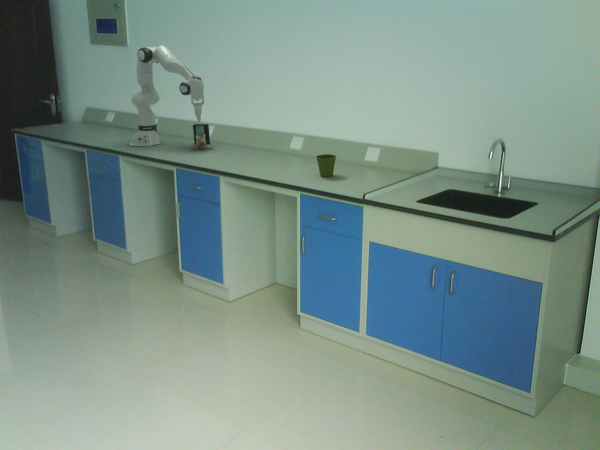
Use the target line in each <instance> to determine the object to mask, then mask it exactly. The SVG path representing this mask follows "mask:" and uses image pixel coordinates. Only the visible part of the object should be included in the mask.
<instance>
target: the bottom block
mask: <svg viewBox="0 0 600 450" xmlns="http://www.w3.org/2000/svg"><path fill="white" fill-rule="evenodd" d="M207 147H208V146H207V144H206V141H205V143H196V145H195V148H196V150H207Z"/></svg>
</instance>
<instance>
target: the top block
mask: <svg viewBox="0 0 600 450" xmlns="http://www.w3.org/2000/svg"><path fill="white" fill-rule="evenodd" d="M196 143H205V134H204V135H202V136H197V135H196Z"/></svg>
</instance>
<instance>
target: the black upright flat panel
mask: <svg viewBox="0 0 600 450" xmlns="http://www.w3.org/2000/svg"><path fill="white" fill-rule="evenodd" d="M196 126H204V134H205V141H206V145H210V144H211V139H210V125H209V123H194V124H192V130H193V141H194V143H193V144H194V145H195V146H196Z"/></svg>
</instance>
